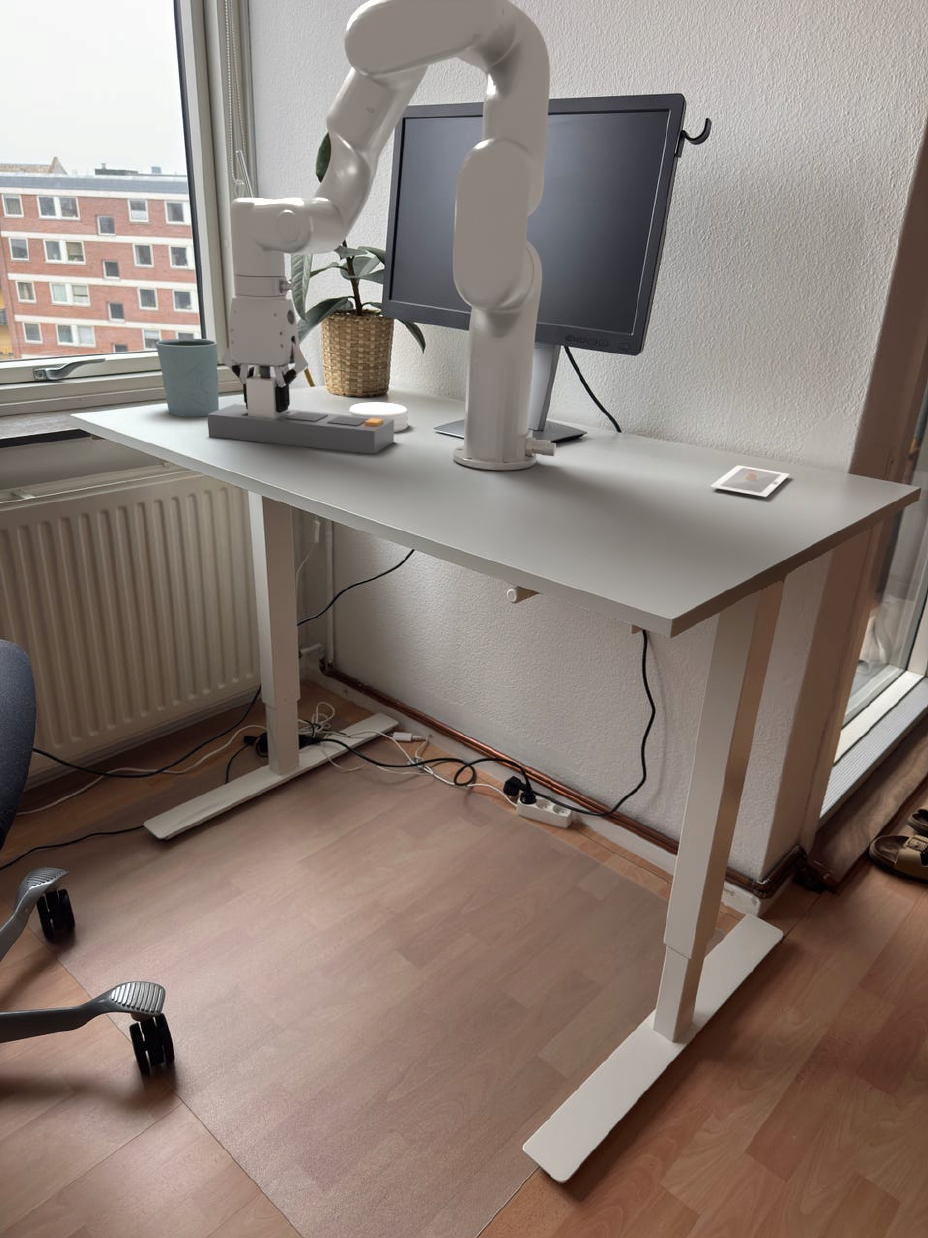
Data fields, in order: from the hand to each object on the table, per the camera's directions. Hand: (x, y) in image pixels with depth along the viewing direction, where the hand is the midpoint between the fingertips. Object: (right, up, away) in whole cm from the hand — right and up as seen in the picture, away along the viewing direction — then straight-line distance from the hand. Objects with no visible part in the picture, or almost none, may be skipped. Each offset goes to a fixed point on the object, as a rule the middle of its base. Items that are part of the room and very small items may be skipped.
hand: (267, 408), depth 141 cm
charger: (0, -4, +2) cm, 4 cm away
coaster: (+17, -1, +11) cm, 20 cm away
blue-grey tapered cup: (-17, +3, +16) cm, 23 cm away
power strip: (+5, -5, +1) cm, 7 cm away
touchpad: (+73, -15, -13) cm, 76 cm away
